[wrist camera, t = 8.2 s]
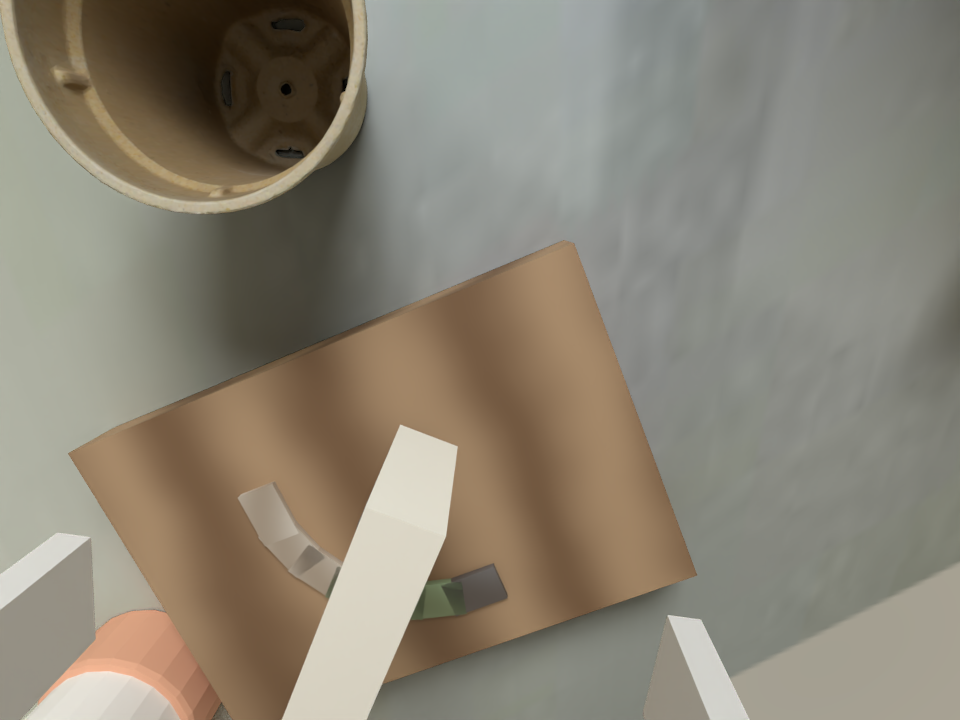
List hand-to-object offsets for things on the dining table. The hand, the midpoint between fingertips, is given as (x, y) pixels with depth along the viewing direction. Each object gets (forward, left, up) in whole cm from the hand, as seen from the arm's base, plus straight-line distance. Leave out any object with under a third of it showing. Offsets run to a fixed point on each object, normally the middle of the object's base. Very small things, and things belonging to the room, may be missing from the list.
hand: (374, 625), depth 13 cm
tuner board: (+3, +2, -14) cm, 14 cm away
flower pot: (0, -15, -14) cm, 20 cm away
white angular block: (+2, +2, -10) cm, 11 cm away
